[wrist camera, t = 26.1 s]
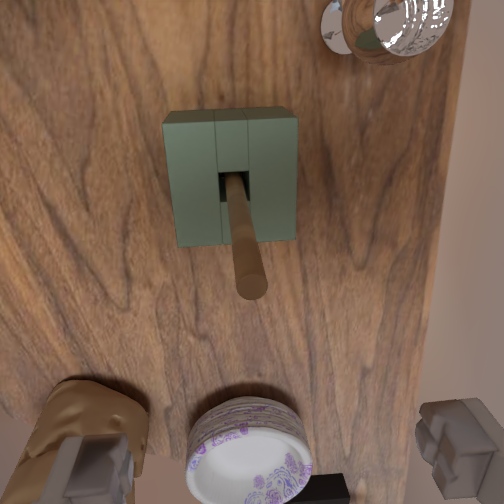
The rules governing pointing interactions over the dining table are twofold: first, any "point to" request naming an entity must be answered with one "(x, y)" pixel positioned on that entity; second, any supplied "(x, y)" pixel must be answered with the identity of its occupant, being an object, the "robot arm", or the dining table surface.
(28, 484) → the container
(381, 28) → the wineglass
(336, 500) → the lamp
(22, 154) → the dining table surface
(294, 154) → the stick stand
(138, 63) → the dining table surface
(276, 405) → the paper bowls
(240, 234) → the stirring stick
